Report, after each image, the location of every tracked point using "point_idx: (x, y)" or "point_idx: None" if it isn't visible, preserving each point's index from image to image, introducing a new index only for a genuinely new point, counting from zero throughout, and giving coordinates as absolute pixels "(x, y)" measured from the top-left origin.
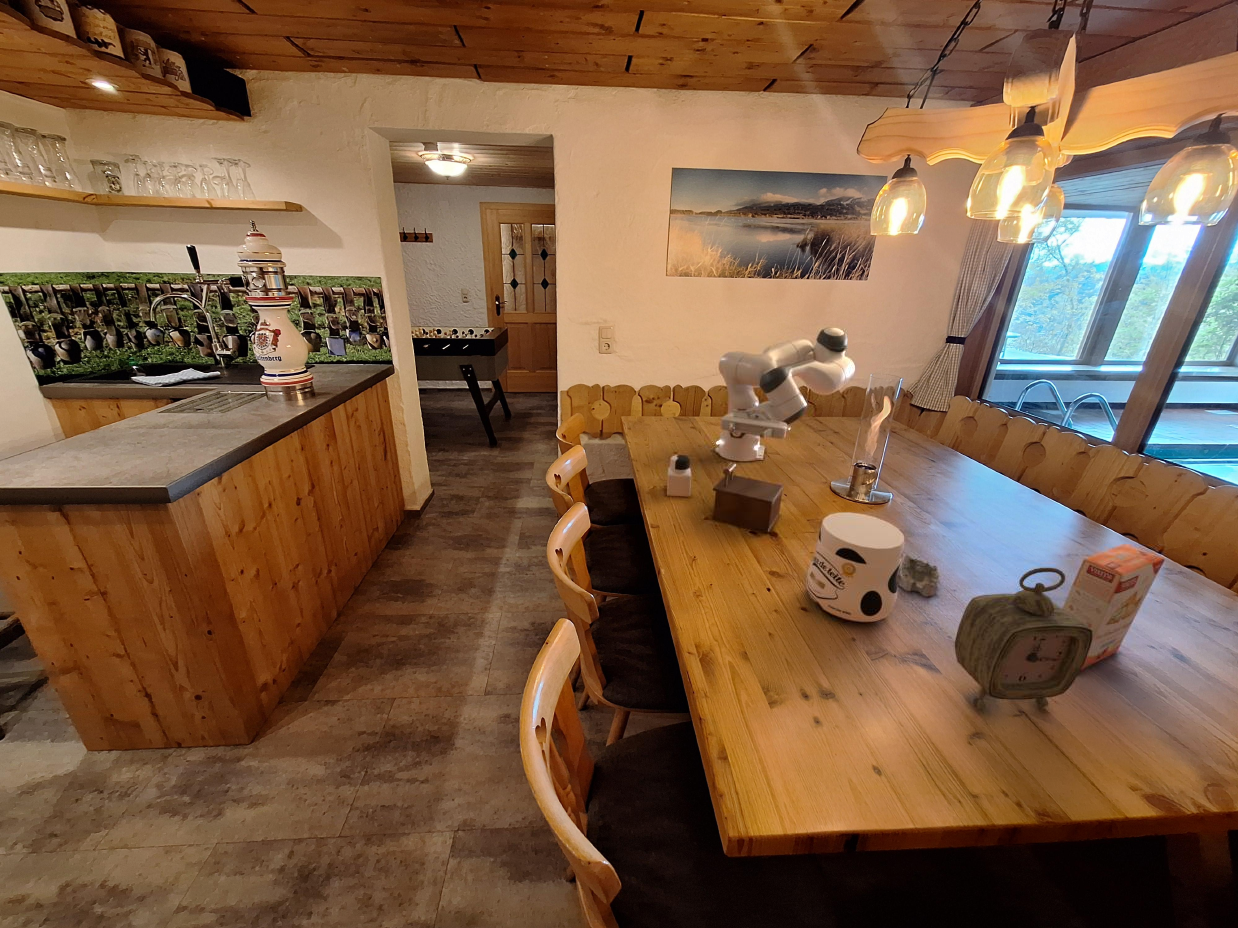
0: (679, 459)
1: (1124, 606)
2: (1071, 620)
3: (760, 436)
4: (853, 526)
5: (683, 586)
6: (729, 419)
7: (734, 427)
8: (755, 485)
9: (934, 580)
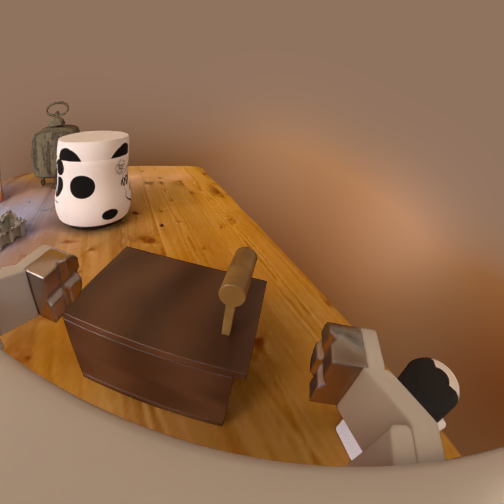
0: (427, 361)
1: None
2: (46, 127)
3: (77, 280)
4: (98, 136)
5: (247, 225)
6: (494, 466)
7: (330, 328)
8: (147, 304)
9: (7, 213)
